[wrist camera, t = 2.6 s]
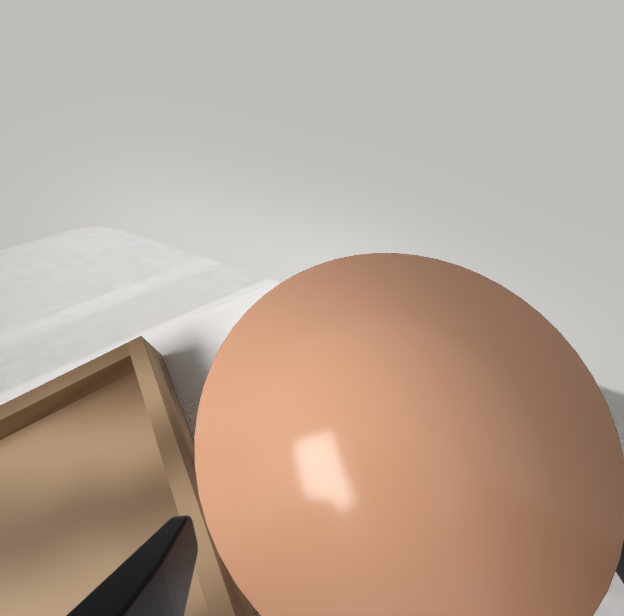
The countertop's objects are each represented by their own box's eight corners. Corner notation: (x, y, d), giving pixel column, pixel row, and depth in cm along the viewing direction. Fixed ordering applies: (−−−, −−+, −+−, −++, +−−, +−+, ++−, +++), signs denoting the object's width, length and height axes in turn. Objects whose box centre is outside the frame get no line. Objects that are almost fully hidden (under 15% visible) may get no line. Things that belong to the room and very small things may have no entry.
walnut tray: (258, 620, 14) (242, 636, 12) (-122, 892, 11) (-230, 976, 9) (162, 355, 21) (141, 335, 19) (-90, 484, 18) (-148, 478, 16)
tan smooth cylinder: (458, 516, 15) (740, 488, 4) (342, 603, 14) (324, 869, 3) (377, 400, 18) (422, 210, 7) (275, 464, 17) (146, 349, 6)
